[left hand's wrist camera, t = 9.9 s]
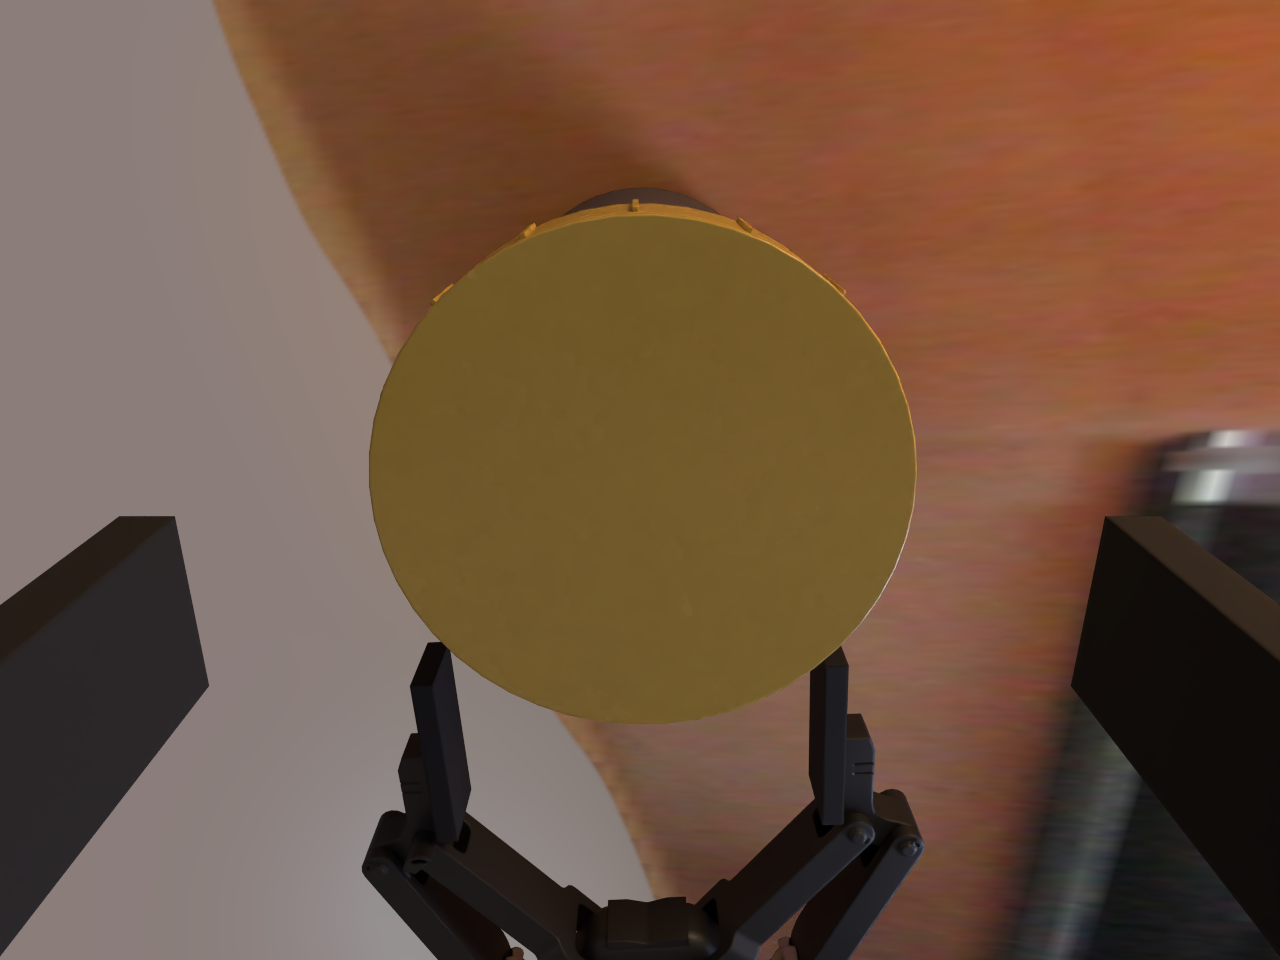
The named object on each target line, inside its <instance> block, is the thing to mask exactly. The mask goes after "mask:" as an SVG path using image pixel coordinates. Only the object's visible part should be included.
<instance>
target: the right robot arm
mask: <svg viewBox="0 0 1280 960" xmlns="http://www.w3.org/2000/svg"><path fill="white" fill-rule="evenodd" d="M848 670H849V665H848V663H847V660H846V657H845V655H844V652H843V650H842V647H841V646H840V647H839V648H838V649H837V650H835V651H834V652H833V653H832V654H831V655H829V656H828V657H827V658H826V659H825V660H823V661H822V662H821V663H820V664H819V665H818V666H816V667H815V668H814V669H812V670H811V671H810V723H809V777H810V781H811V785H812V788H813V792H814V796H815V799H814V800H813V801H812V802H811V803H810V804H809V805H808V806H807V807H806V808H805V809H804V810H803V811H802V812H801V813H800V814H799V815H797V816H796V817H795V818H794V819H793V820H792V821H791V822H790V823H789V824H788V825H787V826H786V827H785V828H784V829H783V830H782V831H781V832H780V833H779V834H778V835H777V836H776V837H775V838H774V839H773V840H772V841H771V842H770V843H769V844H768V845H767V846H766V847H765V848H764V849H763V850H762V851H761V852H760V853H758V854H757V855H756V856H755V857H754V858H753V859H752V860H751V861H750V862H749V863H748V864H747V865H746V866H745V867H744V868H743V869H742V870H741V871H740V872H739V873H738V874H737V875H736V876H735V877H734V878H733V879H732V880H730V881H728V880H726V879H722V880H720V881H719V882H718V883H717V884H716V885H715V886H714V887H713V888H712V889H711V890H710V891H709V892H708V893H707V894H706V895H705V896H703V897H702V898H701V899H700V900H699V901H698V902H697V903H696V904H695V905H693V904H690V903H686V897H669V898H663V899H659V900H655V901H651V902H641V901H635V900H628V899H623V900H608V906H607V907H604V908H600V907H599V906H598V905H597V904H595V903H594V902H593V901H592V900H590V899H589V898H588V897H586V896H585V895H584V894H583V893H582V892H580V891H579V890H578V889H576V888H575V887H573V886H572V885H568V886H567V887H565V888H562V887H561V886H559V885H558V884H557V883H556V882H554V881H553V880H552V879H551V878H549V877H548V876H547V875H545V874H544V873H543V872H542V871H540V870H539V869H538V868H537V867H535V866H534V865H533V864H532V863H530V862H529V861H528V860H526V859H525V858H524V857H523V856H521V855H520V854H519V853H517V852H516V851H515V850H514V849H512V848H511V847H510V846H509V845H507V844H506V843H505V842H504V841H502V840H501V839H500V838H498V837H497V836H496V835H495V834H493V833H492V832H491V831H490V830H488V829H487V828H486V827H485V826H483V825H482V824H481V823H479V822H478V821H477V820H476V819H474V818H473V817H472V816H471V815H469V814H468V813H467V812H466V808H467V804H468V800H469V796H470V792H471V785H470V778H469V771H468V765H467V758H466V751H465V745H464V739H463V732H462V725H461V719H460V712H459V705H458V699H457V692H456V686H455V679H454V672H453V666H452V659H451V653H450V650H449V649H448V648H447V647H446V646H445V645H444V644H443V643H442V642H430V643H428V644H427V646H426V648H425V651H424V653H423V656H422V658H421V661H420V663H419V665H418V668H417V670H416V673H415V675H414V677H413V680H412V682H411V685H410V690H411V695H412V701H413V707H414V713H415V718H416V724H417V730H418V733H412V734H411V735H410V737H409V740H408V743H407V745H406V748H405V750H404V753H403V756H402V758H401V762H400V765H399V769H398V774H399V779H400V783H401V790H402V793H403V794H402V795H403V801H404V806H405V811H406V813H402V812H400V811H393V810H391V811H388V812H385V813H384V814H383V815H382V816H381V818H380V820H379V823H378V825H377V828H376V830H375V833H374V836H373V838H372V841H371V844H370V846H369V849H368V852H367V854H366V857H365V860H364V862H363V865H362V872H363V874H364V876H365V877H366V878H367V880H368V881H369V882H370V883H371V884H372V885H373V886H374V887H375V889H376V890H377V891H378V892H379V893H380V894H381V895H382V897H383V898H384V899H385V900H386V901H387V902H388V903H389V905H390V906H391V907H392V908H393V909H394V910H395V911H396V912H397V914H398V915H399V916H400V917H401V918H402V919H403V921H404V922H405V923H406V924H407V925H408V926H409V927H410V928H411V930H412V931H413V932H414V933H415V934H416V935H417V936H418V938H419V939H420V940H421V941H422V942H423V943H424V944H425V946H426V947H427V948H428V949H429V950H430V951H431V952H432V954H433V955H434V956H435V957H436V958H437V959H438V960H524V959H523V955H524V952H523V950H522V949H521V948H519V947H514V948H510V945H509V942H508V940H507V938H506V936H505V935H504V933H503V931H505V932H506V933H507V934H509V935H510V936H511V937H513V938H514V939H515V940H517V941H518V942H519V943H521V944H522V945H523V946H525V947H526V948H527V949H529V950H530V951H531V952H533V953H534V954H535V955H536V957H537V959H538V960H756V959H757V956H758V952H759V949H760V947H761V945H762V944H763V943H764V942H765V941H766V940H767V939H768V938H769V937H770V936H772V935H773V934H774V933H775V932H776V931H777V930H778V929H779V928H780V927H781V926H782V925H783V924H785V923H786V922H787V921H788V920H789V919H790V918H791V917H792V916H793V915H794V914H795V913H796V912H797V911H799V910H800V909H801V908H802V907H803V906H804V905H805V904H806V903H807V902H808V903H807V904H806V906H805V907H804V909H803V910H802V912H801V913H800V915H799V917H798V919H797V920H796V922H795V925H794V927H793V930H792V934H791V938H789V937H782V938H780V939H779V941H778V945H779V949H777V950H776V951H775V953H774V955H773V957H772V958H771V959H770V960H849V958H850V957H851V956H852V954H853V953H854V951H855V950H856V948H857V947H858V945H859V944H860V943H861V941H862V940H863V938H864V937H865V935H866V934H867V933H868V931H869V930H870V928H871V927H872V925H873V924H874V922H875V921H876V920H877V918H878V917H879V915H880V914H881V912H882V911H883V909H884V908H885V907H886V905H887V904H888V902H889V901H890V899H891V898H892V897H893V895H894V894H895V892H896V891H897V889H898V888H899V886H900V885H901V884H902V882H903V881H904V879H905V878H906V876H907V875H908V874H909V872H910V871H911V869H912V868H913V866H914V865H915V863H916V862H917V861H918V859H919V858H920V856H921V855H922V853H923V851H924V849H925V848H924V842H923V839H922V837H921V834H920V832H919V829H918V827H917V824H916V822H915V819H914V817H913V814H912V812H911V809H910V807H909V804H908V802H907V799H906V797H905V795H904V794H903V793H902V792H901V791H899V790H895V789H889V790H885V791H883V792H881V793H876V792H873V785H874V762H875V748H874V745H873V743H872V740H871V737H870V735H869V732H868V729H867V727H866V724H865V722H864V720H863V718H862V715H861V714H847V701H848ZM500 928H501V929H502V930H503V931H502V930H501V929H500ZM576 931H577V932H576Z"/></svg>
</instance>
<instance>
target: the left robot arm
mask: <svg viewBox="0 0 1280 960" xmlns="http://www.w3.org/2000/svg"><path fill="white" fill-rule="evenodd" d="M208 686H209V684H208V678H207V673H206V668H205V664H204V659H203V654H202V649H201V644H200V639H199V634H198V629H197V624H196V619H195V614H194V609H193V604H192V599H191V594H190V590H189V584H188V580H187V575H186V570H185V565H184V560H183V555H182V550H181V545H180V540H179V535H178V530H177V525H176V520H175V516H119V517H118V518H116V519H115V520H114V521H112V522H111V523H110V524H108V525H107V526H106V527H104V528H103V529H102V530H100V531H99V532H98V533H96V534H95V535H94V536H92V537H91V538H90V539H88V540H87V541H86V542H84V543H83V544H82V545H80V546H79V547H78V548H76V549H75V550H74V551H72V552H71V553H69V554H68V555H67V556H66V557H64V558H63V559H61V560H60V561H59V562H57V563H56V564H55V565H53V566H52V567H51V568H49V569H48V570H47V571H45V572H44V573H43V574H41V575H40V576H39V577H37V578H36V579H35V580H33V581H32V582H31V583H29V584H28V585H27V586H25V587H24V588H23V589H21V590H20V591H19V592H17V593H16V594H15V595H13V596H12V597H10V598H9V599H8V600H6V601H5V602H4V603H3V604H1V605H0V956H1V954H2V953H3V952H4V951H5V949H6V948H7V947H8V945H9V944H10V943H11V941H12V940H13V939H14V938H15V936H16V935H17V934H18V932H19V931H20V930H21V929H22V927H23V926H24V925H25V923H26V922H27V921H28V920H29V918H30V917H31V916H32V914H33V913H34V912H35V910H36V909H37V908H38V907H39V905H40V904H41V903H42V901H43V900H44V899H45V898H46V896H47V895H48V894H49V892H50V891H51V890H52V888H53V887H54V886H55V884H56V883H57V882H58V881H59V879H60V878H61V877H62V875H63V874H64V873H65V872H66V870H67V869H68V868H69V866H70V865H71V864H72V863H73V861H74V860H75V859H76V857H77V856H78V855H79V854H80V852H81V851H82V850H83V848H84V847H85V846H86V844H87V843H88V842H89V841H90V839H91V838H92V837H93V835H94V834H95V833H96V831H97V830H98V829H99V828H100V826H101V825H102V824H103V822H104V821H105V820H106V819H107V817H108V816H109V815H110V813H111V812H112V811H113V810H114V808H115V807H116V806H117V804H118V803H119V802H120V800H121V799H122V798H123V797H124V795H125V794H126V793H127V791H128V790H129V789H130V787H131V786H132V785H133V784H134V782H135V781H136V780H137V778H138V777H139V776H140V775H141V773H142V772H143V771H144V769H145V768H146V767H147V766H148V764H149V763H150V762H151V760H152V759H153V758H154V756H155V755H156V754H157V753H158V751H159V750H160V749H161V747H162V746H163V745H164V744H165V742H166V741H167V740H168V738H169V737H170V736H171V734H172V733H173V732H174V731H175V729H176V728H177V727H178V725H179V724H180V723H181V722H182V720H183V719H184V718H185V716H186V715H187V714H188V712H189V711H190V710H191V709H192V707H193V706H194V705H195V703H196V702H197V701H198V700H199V698H200V697H201V696H202V694H203V693H204V692H205V690H206V689H207V688H208ZM1071 687H1072V688H1073V689H1074V690H1075V692H1076V693H1077V694H1078V696H1079V697H1080V698H1081V700H1082V701H1083V702H1084V703H1085V705H1086V706H1087V707H1088V709H1089V710H1090V711H1091V712H1092V714H1093V715H1094V716H1095V718H1096V719H1097V720H1098V722H1099V723H1100V724H1101V725H1102V727H1103V728H1104V729H1105V731H1106V732H1107V733H1108V734H1109V736H1110V737H1111V738H1112V740H1113V741H1114V742H1115V744H1116V745H1117V746H1118V747H1119V749H1120V750H1121V751H1122V753H1123V754H1124V755H1125V756H1126V758H1127V759H1128V760H1129V762H1130V763H1131V764H1132V766H1133V767H1134V768H1135V769H1136V771H1137V772H1138V773H1139V775H1140V776H1141V777H1142V778H1143V780H1144V781H1145V782H1146V784H1147V785H1148V786H1149V788H1150V789H1151V790H1152V791H1153V793H1154V794H1155V795H1156V797H1157V798H1158V799H1159V800H1160V802H1161V803H1162V804H1163V806H1164V807H1165V808H1166V810H1167V811H1168V812H1169V813H1170V815H1171V816H1172V817H1173V819H1174V820H1175V821H1176V822H1177V824H1178V825H1179V826H1180V828H1181V829H1182V830H1183V832H1184V833H1185V834H1186V835H1187V837H1188V838H1189V839H1190V841H1191V842H1192V843H1193V844H1194V846H1195V847H1196V848H1197V850H1198V851H1199V852H1200V854H1201V855H1202V856H1203V857H1204V859H1205V860H1206V861H1207V863H1208V864H1209V865H1210V866H1211V868H1212V869H1213V870H1214V872H1215V873H1216V874H1217V876H1218V877H1219V878H1220V879H1221V881H1222V882H1223V883H1224V885H1225V886H1226V887H1227V888H1228V890H1229V891H1230V892H1231V894H1232V895H1233V896H1234V898H1235V899H1236V900H1237V901H1238V903H1239V904H1240V905H1241V907H1242V908H1243V909H1244V910H1245V912H1246V913H1247V914H1248V916H1249V917H1250V918H1251V920H1252V921H1253V922H1254V923H1255V925H1256V926H1257V927H1258V929H1259V930H1260V931H1261V932H1262V934H1263V935H1264V936H1265V938H1266V939H1267V940H1268V942H1269V943H1270V944H1271V945H1272V947H1273V948H1274V949H1275V951H1276V952H1277V953H1278V954H1279V956H1280V605H1279V604H1278V603H1276V602H1275V601H1274V600H1272V599H1271V598H1270V597H1268V596H1267V595H1265V594H1264V593H1263V592H1261V591H1260V590H1259V589H1257V588H1256V587H1255V586H1253V585H1252V584H1251V583H1249V582H1248V581H1247V580H1245V579H1244V578H1243V577H1241V576H1240V575H1239V574H1237V573H1236V572H1235V571H1233V570H1232V569H1231V568H1229V567H1228V566H1227V565H1225V564H1224V563H1223V562H1221V561H1220V560H1219V559H1217V558H1216V557H1215V556H1213V555H1212V554H1211V553H1209V552H1208V551H1206V550H1205V549H1204V548H1202V547H1201V546H1200V545H1198V544H1197V543H1196V542H1194V541H1193V540H1192V539H1190V538H1189V537H1188V536H1186V535H1185V534H1184V533H1182V532H1181V531H1180V530H1178V529H1177V528H1176V527H1174V526H1173V525H1172V524H1170V523H1169V522H1168V521H1166V520H1165V519H1164V518H1162V517H1161V516H1105V520H1104V525H1103V530H1102V535H1101V540H1100V545H1099V550H1098V555H1097V560H1096V565H1095V570H1094V575H1093V579H1092V584H1091V589H1090V594H1089V599H1088V604H1087V609H1086V614H1085V619H1084V624H1083V629H1082V634H1081V639H1080V644H1079V649H1078V654H1077V659H1076V663H1075V668H1074V673H1073V678H1072V683H1071Z"/></svg>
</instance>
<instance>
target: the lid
mask: <svg viewBox="0 0 1280 960" xmlns="http://www.w3.org/2000/svg"><path fill="white" fill-rule="evenodd" d="M845 293H846V291H845V290H844V289H843V288H842V287H840V286H839V285H838V284H837V283H835V282H834V281H833V280H832V279H830V278H829V277H828V276H827V275H825V274H823V275H820V274H819V273H818V272H817V271H815V270H814V269H813V268H812V267H811V266H809V265H808V264H807V263H805V262H804V261H803V260H802V259H800V258H799V257H798V256H796V255H795V254H794V253H793V252H791V251H790V250H789V249H787V248H786V247H785V246H783V245H782V244H780V243H778V242H777V241H775V240H773V239H771V238H770V237H768V236H766V235H764V234H763V233H761V232H759V231H757V230H756V229H754V228H752V227H751V226H750V225H749V224H748V223H747V222H745V221H744V220H743V219H742V218H739V217H737V220H736V221H734V220H732V219H729V218H727V217H724V216H721V215H717V214H713V213H709V212H705V211H701V210H697V209H693V208H689V207H682V206H673V205H664V204H655V203H648V204H639V203H638V199H633V202H632V204H617V205H611V206H605V207H599V208H593V209H587V210H582V211H579V212H576V213H572V214H569V215H566V216H563V217H560V218H556V219H553V220H550V221H548V222H546V223H544V224H541V225H539V226H536V224H535V223H532V224H530V225H529V226H528V227H527V228H526V229H525V230H523V231H522V232H521V233H520V234H519V235H518V236H517V237H515V238H514V239H512V240H511V241H509V242H508V243H506V244H504V245H503V246H501V247H500V248H498V249H497V250H495V251H494V252H492V253H491V254H489V255H488V256H487V257H486V258H485V259H483V260H482V261H481V262H480V263H479V264H478V265H476V266H475V267H474V268H473V269H472V270H470V271H469V272H468V273H467V274H466V275H465V276H463V277H462V278H461V279H460V280H459V281H458V282H457V283H455V284H454V285H453V284H451V285H450V286H448V287H447V288H446V289H445V290H444V291H442V292H441V293H440V294H439V295H437V296H436V297H435V298H434V299H433V300H432V301H431V302H430V304H431V305H432V307H431V308H430V310H429V311H428V312H427V313H426V314H425V315H424V317H423V318H422V319H421V320H420V321H419V322H418V324H417V325H416V327H415V328H414V330H413V331H412V333H411V334H410V336H409V338H408V339H407V341H406V342H405V344H404V345H403V347H402V349H401V350H400V352H399V353H398V355H397V357H396V360H395V362H394V364H393V366H392V368H391V371H390V373H389V375H388V377H387V379H386V382H385V384H384V386H383V390H382V392H381V395H380V400H379V403H378V407H377V410H376V414H375V417H374V422H373V429H372V436H371V443H370V451H369V488H370V495H371V502H372V509H373V516H374V521H375V525H376V528H377V532H378V535H379V539H380V542H381V545H382V549H383V552H384V554H385V557H386V559H387V561H388V563H389V566H390V568H391V570H392V572H393V574H394V577H395V579H396V581H397V583H398V585H399V586H400V588H401V590H402V591H403V593H404V595H405V596H406V598H407V599H408V601H409V603H410V604H411V606H412V608H413V609H414V610H415V612H416V613H417V614H418V615H419V617H420V618H421V619H422V620H423V622H424V623H425V624H426V626H427V627H428V628H429V629H430V631H431V632H432V633H433V634H434V635H435V636H436V637H437V638H438V639H439V640H440V641H441V642H442V643H443V644H444V645H445V646H446V647H447V648H448V649H449V650H450V651H451V652H452V653H453V654H454V655H455V656H456V657H458V658H459V659H460V660H462V661H463V662H464V663H465V664H467V665H468V666H469V667H471V668H472V669H473V670H475V671H476V672H477V673H479V674H480V675H481V676H483V677H484V678H486V679H488V680H489V681H491V682H493V683H494V684H496V685H498V686H499V687H501V688H503V689H505V690H506V691H508V692H510V693H512V694H514V695H516V696H519V697H521V698H523V699H525V700H528V701H530V702H532V703H534V704H536V705H539V706H542V707H545V708H548V709H551V710H554V711H558V712H561V713H564V714H567V715H571V716H576V717H581V718H586V719H591V720H596V721H601V722H611V723H623V724H666V723H674V722H682V721H689V720H697V719H701V718H705V717H709V716H713V715H717V714H721V713H725V712H729V711H732V710H734V709H737V708H740V707H742V706H745V705H748V704H751V703H753V702H756V701H759V700H761V699H763V698H765V697H767V696H769V695H771V694H773V693H775V692H777V691H779V690H781V689H783V688H784V687H786V686H788V685H790V684H791V683H793V682H794V681H796V680H797V679H799V678H800V677H802V676H803V675H805V674H806V673H808V672H809V671H811V670H812V669H814V668H815V667H816V666H818V665H819V664H820V663H821V662H822V661H823V660H825V659H826V658H827V657H828V656H829V655H831V654H832V653H833V652H834V651H835V650H837V649H838V648H839V647H840V646H841V645H842V644H843V642H844V641H845V640H846V639H847V638H848V637H849V636H850V635H851V634H852V633H853V632H854V631H855V630H856V628H857V627H858V626H859V625H860V624H861V623H862V621H863V620H864V619H865V617H866V616H867V614H868V613H869V612H870V610H871V609H872V608H873V606H874V605H875V603H876V602H877V601H878V599H879V598H880V596H881V594H882V592H883V590H884V588H885V587H886V585H887V583H888V581H889V579H890V577H891V576H892V574H893V572H894V570H895V568H896V565H897V562H898V560H899V557H900V554H901V552H902V549H903V547H904V544H905V541H906V539H907V534H908V530H909V526H910V521H911V517H912V513H913V509H914V501H915V490H916V479H917V464H916V445H915V436H914V431H913V426H912V421H911V415H910V410H909V406H908V403H907V400H906V397H905V394H904V391H903V388H902V386H901V380H900V378H899V377H898V374H897V372H896V370H895V368H894V366H893V364H892V362H891V360H890V359H889V357H888V355H887V353H886V351H885V349H884V347H883V345H882V343H881V341H880V340H879V339H878V337H877V336H876V334H875V333H874V332H873V330H872V329H871V327H870V326H869V325H868V323H867V322H866V321H865V319H864V318H863V316H862V315H861V314H860V312H859V311H858V310H857V309H856V308H855V307H854V306H853V305H852V304H851V303H850V302H849V301H848V300H847V299H846V298H845V297H844V296H843V295H844V294H845Z"/></svg>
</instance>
